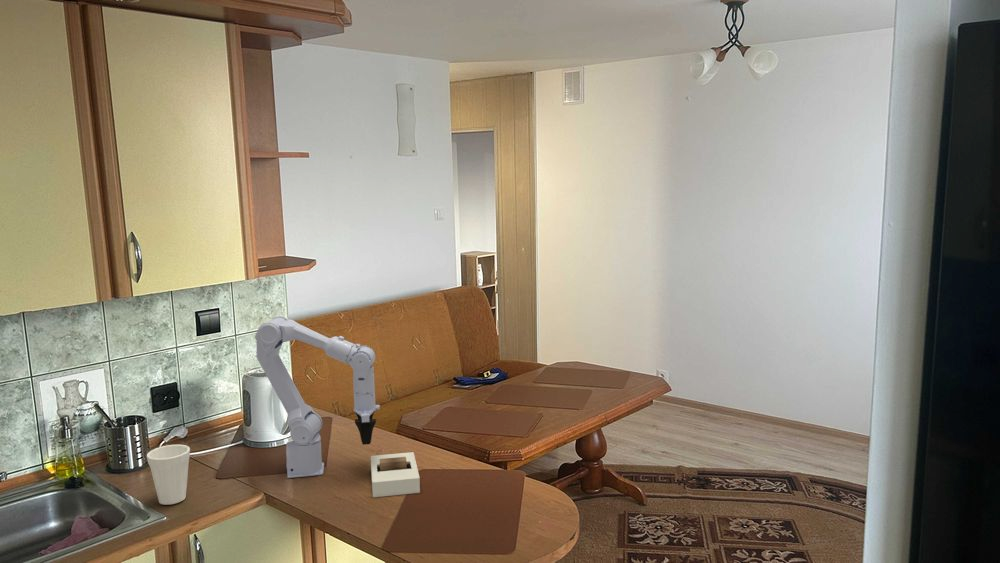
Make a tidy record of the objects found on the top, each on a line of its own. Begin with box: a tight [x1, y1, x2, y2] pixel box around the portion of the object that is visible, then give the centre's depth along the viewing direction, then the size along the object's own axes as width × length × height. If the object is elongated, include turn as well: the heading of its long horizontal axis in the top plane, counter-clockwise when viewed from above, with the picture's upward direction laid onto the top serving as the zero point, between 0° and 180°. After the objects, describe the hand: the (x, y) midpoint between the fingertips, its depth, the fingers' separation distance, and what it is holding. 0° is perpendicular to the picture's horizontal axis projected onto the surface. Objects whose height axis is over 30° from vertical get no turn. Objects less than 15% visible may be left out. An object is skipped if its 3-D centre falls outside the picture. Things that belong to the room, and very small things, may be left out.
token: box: [379, 457, 408, 472], centre depth 189 cm, size 7×3×6 cm, turn 101°
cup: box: [146, 444, 191, 505], centre depth 178 cm, size 10×10×13 cm
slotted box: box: [370, 451, 421, 498], centre depth 189 cm, size 12×18×4 cm, turn 12°
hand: (366, 438), depth 194 cm, fingers open, 7 cm apart
